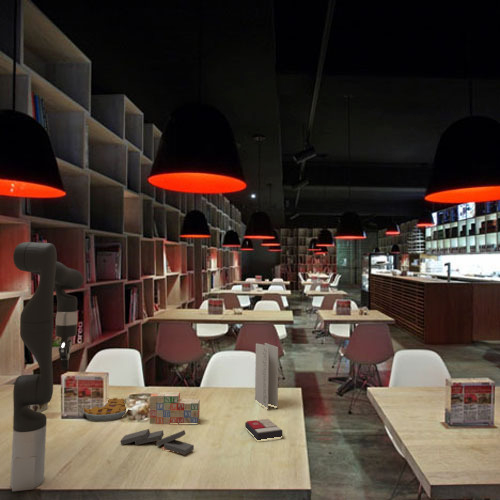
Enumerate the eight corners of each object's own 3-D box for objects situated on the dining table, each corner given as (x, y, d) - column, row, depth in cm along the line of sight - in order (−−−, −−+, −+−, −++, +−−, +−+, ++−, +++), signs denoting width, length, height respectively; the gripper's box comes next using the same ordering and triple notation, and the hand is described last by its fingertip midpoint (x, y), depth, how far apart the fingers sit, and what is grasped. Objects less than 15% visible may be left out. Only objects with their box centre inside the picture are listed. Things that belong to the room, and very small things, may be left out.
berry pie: (78, 424, 175) (79, 412, 175) (85, 408, 196) (85, 397, 196) (131, 420, 181) (131, 408, 181) (131, 404, 202) (132, 394, 202)
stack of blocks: (199, 419, 183) (200, 392, 183) (197, 425, 176) (198, 396, 177) (152, 419, 183) (153, 391, 183) (148, 424, 176) (149, 395, 177)
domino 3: (164, 442, 157) (185, 434, 155) (157, 446, 152) (179, 437, 150) (162, 438, 158) (184, 430, 155) (156, 442, 153) (178, 433, 151)
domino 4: (173, 443, 155) (193, 449, 150) (164, 448, 151) (184, 454, 146) (173, 439, 155) (193, 445, 150) (164, 443, 151) (184, 450, 146)
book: (268, 417, 177) (282, 428, 163) (268, 427, 176) (282, 439, 162) (244, 420, 173) (257, 431, 159) (244, 430, 173) (257, 443, 159)
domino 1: (125, 439, 160) (150, 432, 159) (121, 445, 155) (146, 438, 154) (124, 435, 160) (148, 428, 159) (120, 440, 155) (145, 434, 154)
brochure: (254, 402, 208) (255, 343, 210) (264, 400, 210) (265, 342, 212) (267, 410, 195) (268, 348, 197) (277, 409, 198) (278, 347, 199)
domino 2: (138, 439, 160) (163, 434, 160) (135, 445, 155) (161, 439, 155) (138, 435, 160) (162, 430, 160) (134, 441, 155) (160, 435, 155)
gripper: (74, 325, 148) (72, 373, 147) (79, 321, 161) (78, 365, 160) (51, 325, 147) (49, 374, 146) (59, 321, 159) (57, 365, 158)
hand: (64, 369), depth 153 cm, fingers closed
